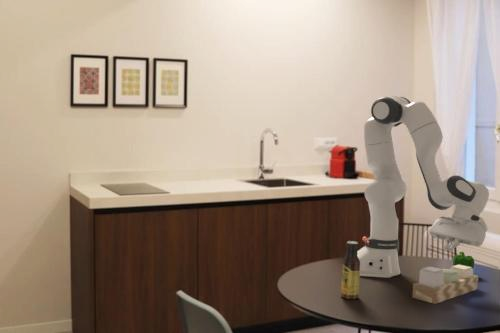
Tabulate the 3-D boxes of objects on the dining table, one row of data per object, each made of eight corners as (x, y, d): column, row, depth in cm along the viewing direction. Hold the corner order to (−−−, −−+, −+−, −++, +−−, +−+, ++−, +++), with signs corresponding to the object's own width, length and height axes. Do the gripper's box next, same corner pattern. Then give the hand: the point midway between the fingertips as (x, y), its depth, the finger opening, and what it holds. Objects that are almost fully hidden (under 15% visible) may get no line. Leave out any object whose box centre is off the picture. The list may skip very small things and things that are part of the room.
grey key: (428, 285, 221) (429, 266, 220) (443, 289, 217) (444, 269, 216) (418, 288, 217) (419, 268, 217) (433, 292, 213) (434, 272, 212)
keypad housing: (455, 283, 237) (456, 271, 236) (477, 289, 230) (478, 276, 230) (412, 297, 218) (413, 283, 217) (434, 304, 211) (435, 289, 210)
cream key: (457, 282, 235) (458, 264, 234) (472, 285, 230) (473, 267, 229) (449, 284, 231) (450, 266, 230) (463, 288, 226) (464, 269, 225)
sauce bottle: (338, 294, 219) (341, 239, 218) (356, 294, 220) (358, 239, 218) (343, 300, 213) (345, 243, 211) (360, 300, 213) (363, 244, 212)
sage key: (443, 286, 228) (444, 268, 227) (457, 290, 223) (458, 271, 223) (434, 289, 224) (435, 270, 223) (449, 293, 220) (450, 274, 219)
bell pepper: (464, 271, 255) (465, 248, 254) (477, 277, 247) (479, 252, 246) (447, 273, 252) (448, 249, 251) (460, 278, 244) (461, 253, 243)
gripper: (435, 210, 234) (420, 239, 228) (486, 219, 219) (470, 249, 213) (441, 221, 237) (426, 249, 232) (492, 230, 222) (476, 260, 217)
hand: (447, 249), depth 222 cm, fingers closed
